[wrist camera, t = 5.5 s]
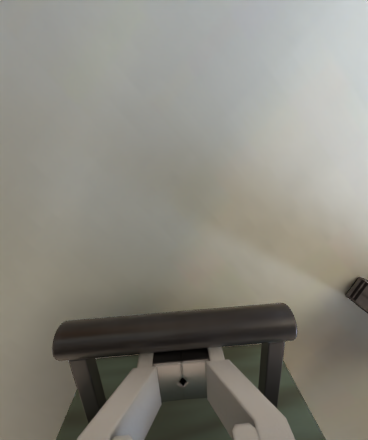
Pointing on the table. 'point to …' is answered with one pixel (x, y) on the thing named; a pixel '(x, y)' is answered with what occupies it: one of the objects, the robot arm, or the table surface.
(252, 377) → the drawer
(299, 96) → the table surface
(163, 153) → the table surface
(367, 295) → the mini dv tape
